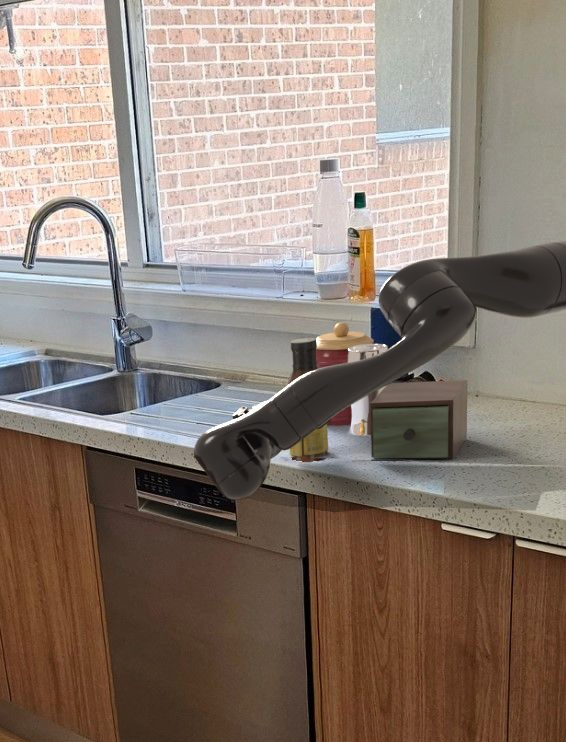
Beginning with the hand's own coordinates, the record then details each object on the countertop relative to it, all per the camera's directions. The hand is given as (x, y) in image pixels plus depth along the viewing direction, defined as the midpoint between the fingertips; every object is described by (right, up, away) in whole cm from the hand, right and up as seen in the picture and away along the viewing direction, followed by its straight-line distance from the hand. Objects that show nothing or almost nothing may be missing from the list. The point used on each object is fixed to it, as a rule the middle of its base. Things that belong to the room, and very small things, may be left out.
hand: (293, 406), depth 192 cm
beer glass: (+17, 0, +21) cm, 27 cm away
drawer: (+21, -6, +5) cm, 22 cm away
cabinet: (+22, -5, +7) cm, 24 cm away
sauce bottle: (+5, -7, +10) cm, 13 cm away
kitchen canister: (+16, +5, +33) cm, 37 cm away
